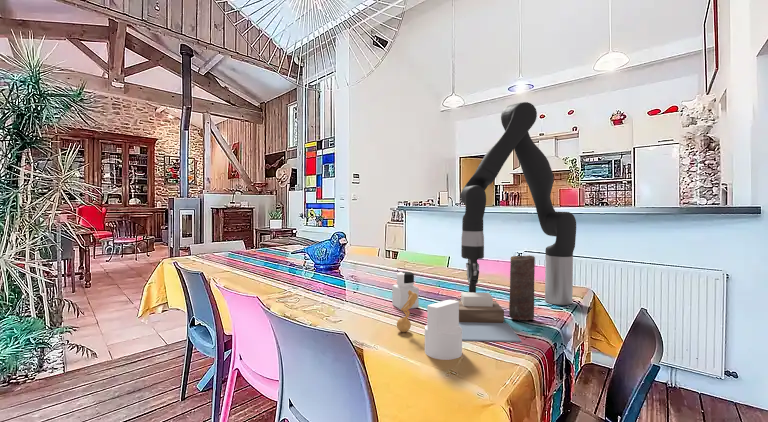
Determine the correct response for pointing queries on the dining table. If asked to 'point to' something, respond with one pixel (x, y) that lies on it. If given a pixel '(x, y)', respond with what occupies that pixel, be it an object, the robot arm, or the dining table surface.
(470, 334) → the mat
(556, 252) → the robot arm
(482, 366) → the dining table surface
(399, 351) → the dining table surface
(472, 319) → the brown flat block
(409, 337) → the dining table surface
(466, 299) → the white rectangular block
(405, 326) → the figurine
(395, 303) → the medicine bottle
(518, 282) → the candle
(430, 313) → the cylinder with rectangular tab
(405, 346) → the dining table surface
